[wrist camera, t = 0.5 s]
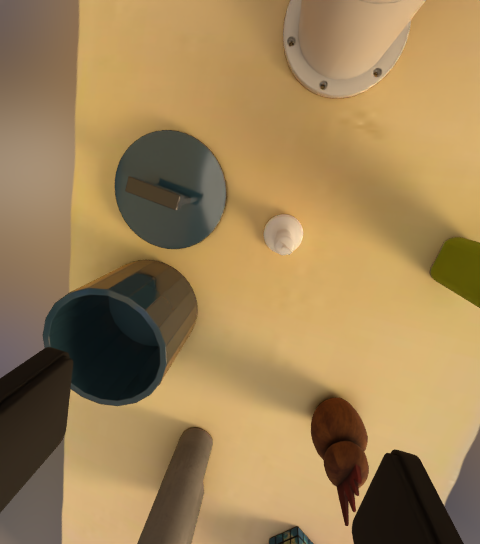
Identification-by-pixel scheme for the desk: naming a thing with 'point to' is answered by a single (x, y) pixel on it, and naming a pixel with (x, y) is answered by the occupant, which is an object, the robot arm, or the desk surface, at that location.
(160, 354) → the pot
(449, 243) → the vape
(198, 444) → the flask
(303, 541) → the puzzle
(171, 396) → the desk surface
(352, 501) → the wooden figurine
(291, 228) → the chess piece
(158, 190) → the lid
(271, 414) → the desk surface
